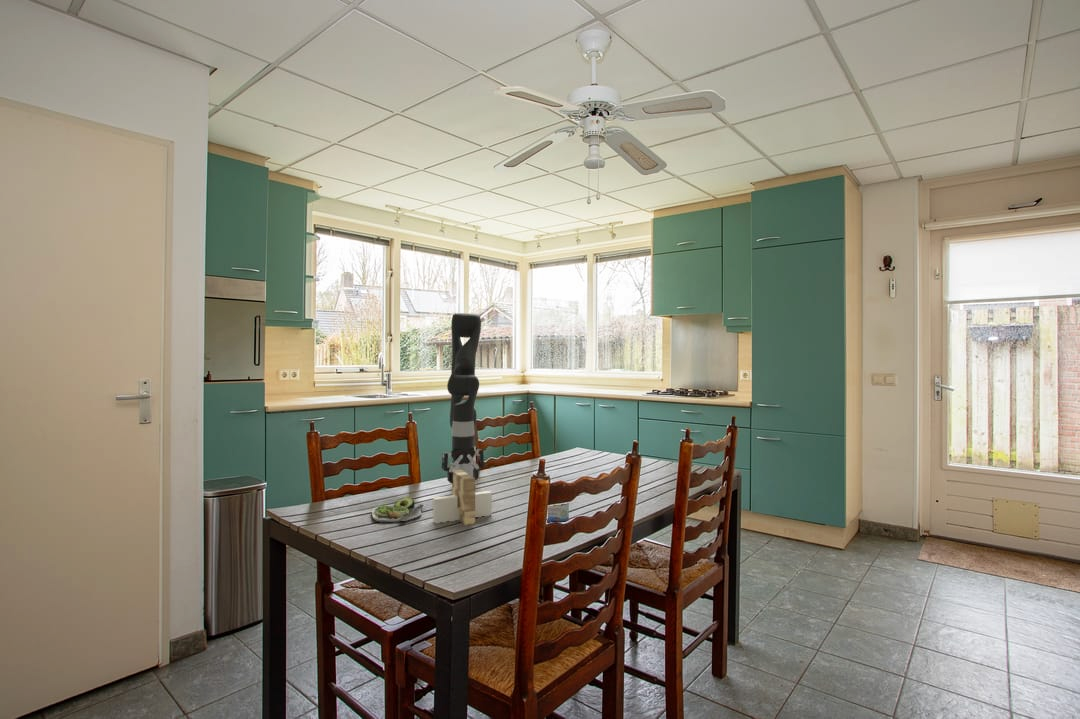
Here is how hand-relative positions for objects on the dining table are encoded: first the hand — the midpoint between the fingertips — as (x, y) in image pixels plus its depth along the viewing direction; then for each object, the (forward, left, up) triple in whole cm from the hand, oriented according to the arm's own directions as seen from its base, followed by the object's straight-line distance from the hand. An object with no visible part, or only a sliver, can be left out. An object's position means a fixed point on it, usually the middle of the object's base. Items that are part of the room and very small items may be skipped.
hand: (463, 481), depth 184 cm
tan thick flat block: (0, 0, -13) cm, 13 cm away
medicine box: (+15, +28, -13) cm, 34 cm away
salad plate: (-14, -19, -13) cm, 27 cm away
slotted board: (0, 0, -13) cm, 13 cm away
